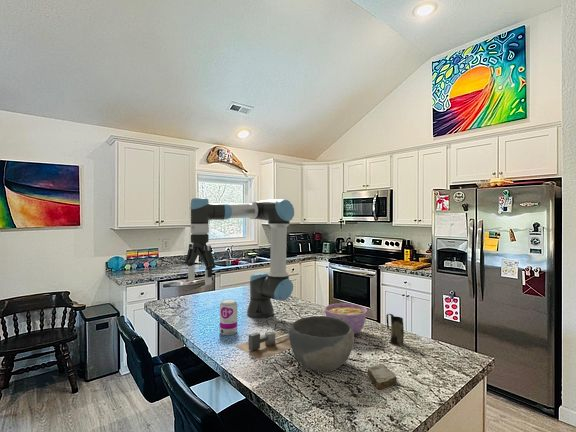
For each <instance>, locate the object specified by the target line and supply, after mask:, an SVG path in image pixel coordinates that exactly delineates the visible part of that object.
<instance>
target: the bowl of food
mask: <svg viewBox="0 0 576 432" xmlns="http://www.w3.org/2000/svg"><path fill="white" fill-rule="evenodd" d="M324 311H325V316H326V317H332V318H336V319H340V320H343V321H345V322H347V323H348V324H349V325H350V326H351V327H352V329H353V331H354V335H355V334H358V333H360V332H361V331H362V330H363V329H364V326H365V325H364V324H365V323H366V317H367V313H368V308H366V307H365V306H362V305H359V304H353V303H344V302H342V303H341V302H339V303H332V304H328V305H326V306H325V307H324Z"/></svg>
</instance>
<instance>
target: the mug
mask: <svg viewBox="0 0 576 432" xmlns="http://www.w3.org/2000/svg"><path fill="white" fill-rule="evenodd" d="M389 316H390V324H391V325H390V326H389ZM386 327H387V330H389V331H390V339H389V343H390V345H392V346H395V347H396V346H397V347H401V346H404V337H405V336H404V335H405V333H404V330H405V328H404V318H403V317H401V316H395V315H394V314H392V313H387V314H386Z"/></svg>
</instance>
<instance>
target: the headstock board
mask: <svg viewBox="0 0 576 432" xmlns="http://www.w3.org/2000/svg"><path fill="white" fill-rule="evenodd" d="M283 335H284V334H283V333H281V332H278V331H277V332H275V338H277V337H280V336H283ZM263 336H265V334H260V337H263ZM234 347H235V348H237V349H239V350H241V351H243V352H246V353H247V354H250V355H252V356H253V357H255V358H257V359H259V360H265V359H267V358H269V357H270V358H271V357H272V356H275V355H277V354H280V353H283V352H285V351H288V350H292V347H291V344H290V338H289V336H286V337H283V338H280V339H277V340H275V345H273V346H267V345H265V342H262V343H260V349H257V350H254V351H251V350H249V340H248V341H246V342H243V343H240V344H236V345H235V346H234Z"/></svg>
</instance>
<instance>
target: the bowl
mask: <svg viewBox="0 0 576 432" xmlns="http://www.w3.org/2000/svg"><path fill="white" fill-rule="evenodd" d="M288 334H289V338H290V344H291V347H292V348H291V350H292V353H293V354H294V357H295V358H296V360H297V361H298V362H299V363H300V364H301V365H303V366H304V367H305V368H308V369H309V370H312V371H316V372H322V373H325V372H327V373H328V372H333V371H335V370H337V369H338V368H340V367H341V366H342V365H344V364H345V363H346V362H347V361H348V360H349V357H350V355H351V354H352V350H353V347H354V343H355V334H354V331H353V329H352V327H351V326H350V325H349V324H348V323H347V322H345V321H343V320H340V319H336V318H332V317H326V315H325V316H324V315H320V316H319V315H315V316H307V317H302V318H299V319H297V320H296V321H294V322H293V323H291V325H290V328H289V333H288Z"/></svg>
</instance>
